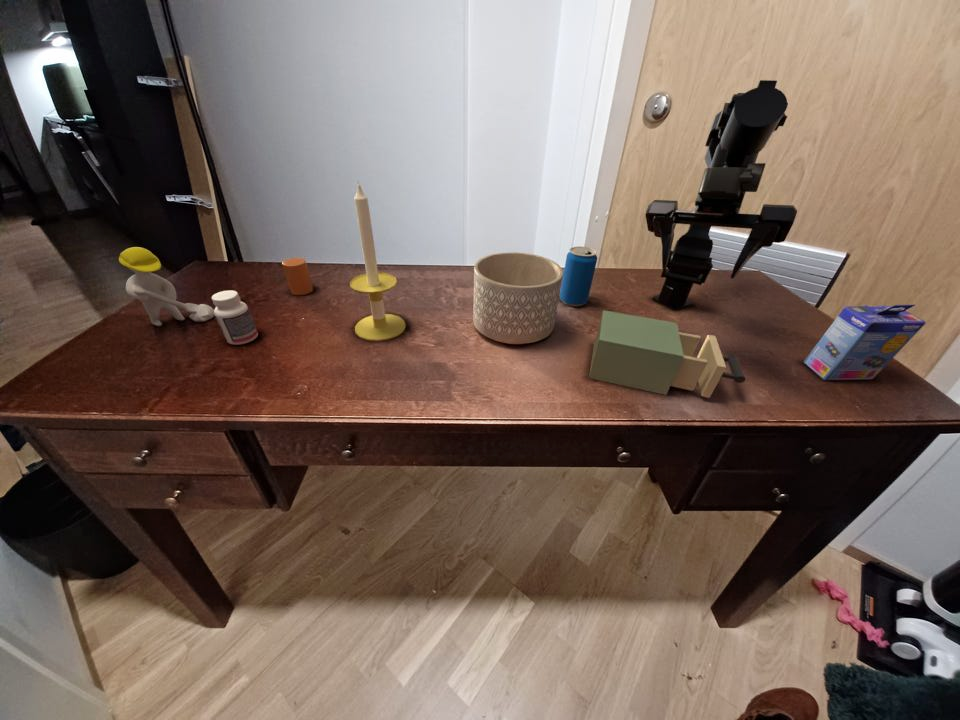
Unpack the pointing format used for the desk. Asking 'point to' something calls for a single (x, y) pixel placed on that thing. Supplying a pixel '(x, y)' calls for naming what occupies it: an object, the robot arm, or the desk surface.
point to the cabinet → (636, 352)
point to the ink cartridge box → (862, 341)
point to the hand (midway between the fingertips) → (696, 272)
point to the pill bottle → (234, 318)
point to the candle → (373, 282)
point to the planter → (516, 296)
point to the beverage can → (578, 276)
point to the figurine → (156, 288)
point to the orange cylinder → (297, 276)
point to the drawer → (704, 365)
